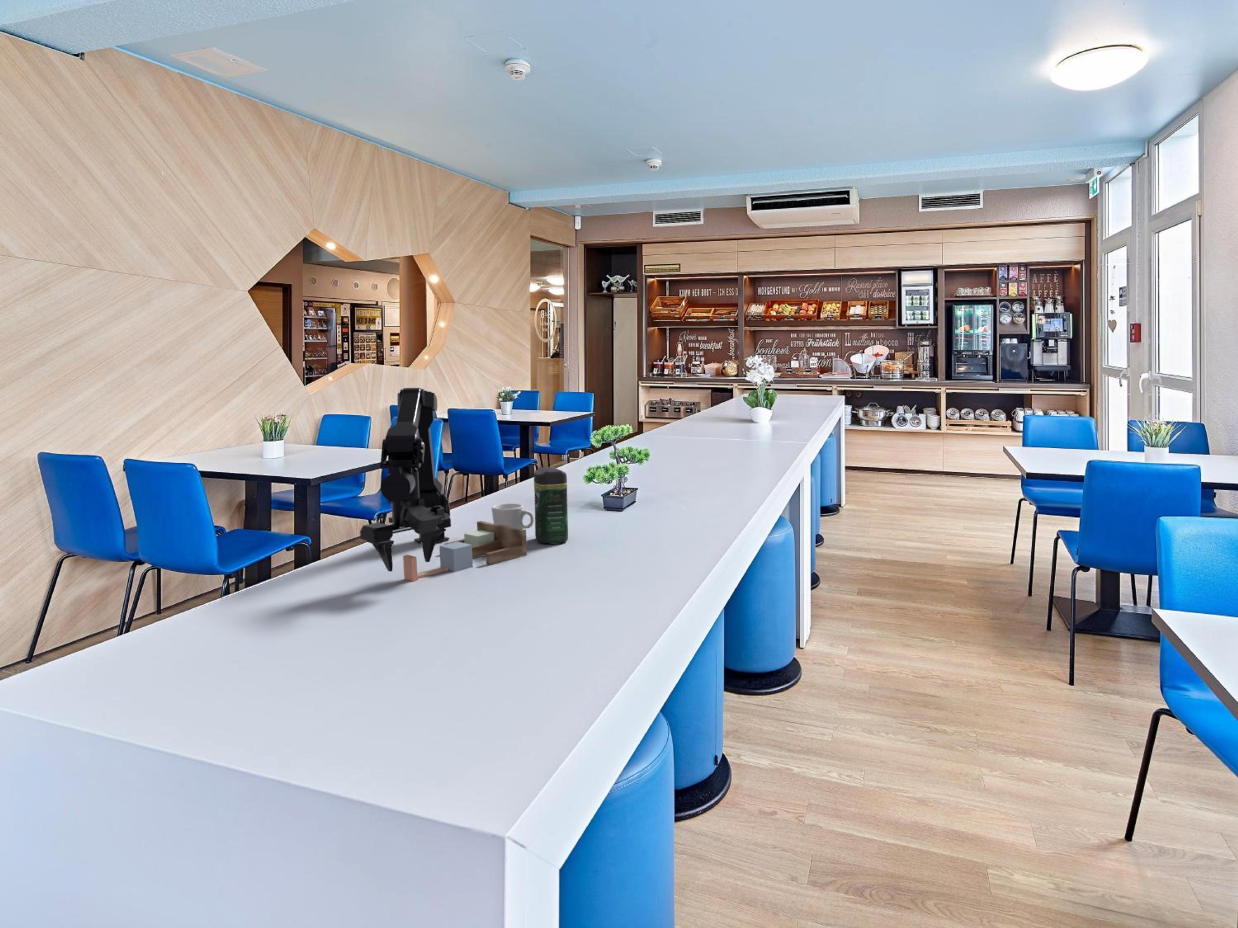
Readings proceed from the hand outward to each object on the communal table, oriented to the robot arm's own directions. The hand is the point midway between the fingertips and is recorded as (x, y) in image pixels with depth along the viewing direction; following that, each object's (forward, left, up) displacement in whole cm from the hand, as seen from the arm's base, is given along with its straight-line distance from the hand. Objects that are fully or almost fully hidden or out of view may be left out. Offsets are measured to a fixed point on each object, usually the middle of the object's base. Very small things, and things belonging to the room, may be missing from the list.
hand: (409, 566), depth 168 cm
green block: (-8, +25, -3) cm, 26 cm away
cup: (-12, +40, -3) cm, 42 cm away
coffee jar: (-1, +43, -3) cm, 43 cm away
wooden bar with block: (0, +7, -3) cm, 8 cm away
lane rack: (-4, +23, -3) cm, 24 cm away
